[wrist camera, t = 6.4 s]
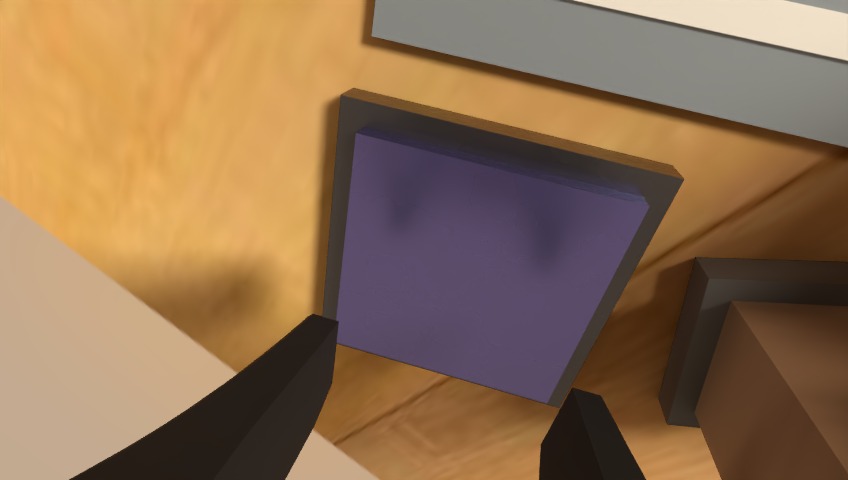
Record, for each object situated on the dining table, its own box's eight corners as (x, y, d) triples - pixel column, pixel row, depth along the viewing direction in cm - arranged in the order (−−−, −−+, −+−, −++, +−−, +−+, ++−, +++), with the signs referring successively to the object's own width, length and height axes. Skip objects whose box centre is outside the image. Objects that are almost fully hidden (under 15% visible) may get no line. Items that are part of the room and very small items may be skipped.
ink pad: (672, 165, 12) (692, 188, 10) (557, 386, 16) (560, 422, 15) (353, 88, 12) (332, 99, 11) (330, 321, 17) (313, 350, 16)
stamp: (942, 263, 12) (1324, 511, 6) (853, 414, 14) (1056, 675, 9) (694, 256, 13) (824, 455, 7) (657, 396, 16) (730, 615, 10)
